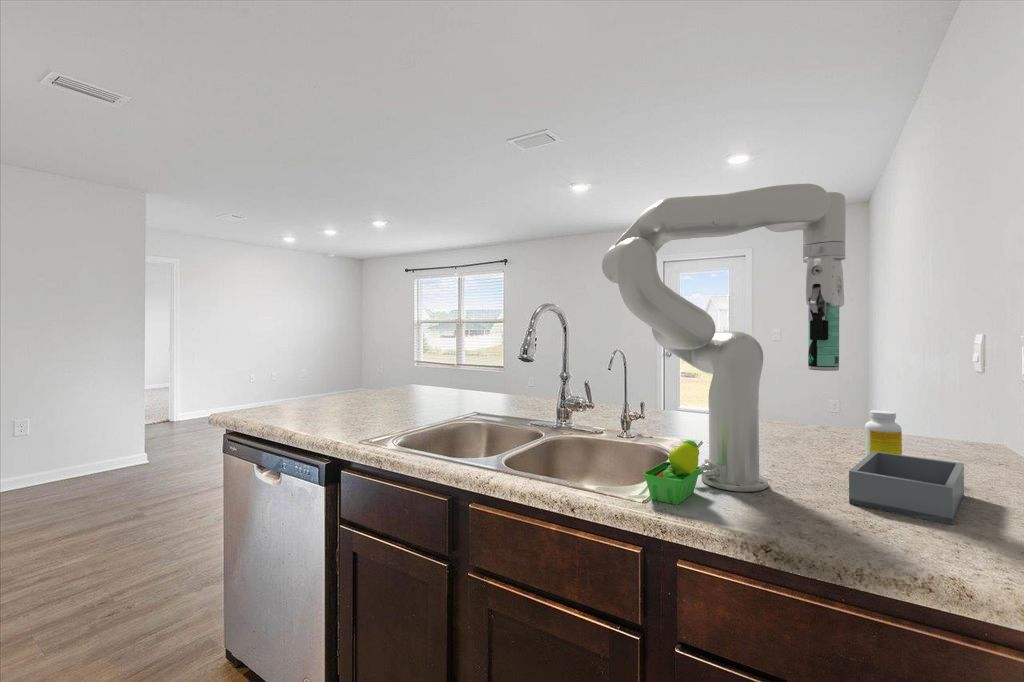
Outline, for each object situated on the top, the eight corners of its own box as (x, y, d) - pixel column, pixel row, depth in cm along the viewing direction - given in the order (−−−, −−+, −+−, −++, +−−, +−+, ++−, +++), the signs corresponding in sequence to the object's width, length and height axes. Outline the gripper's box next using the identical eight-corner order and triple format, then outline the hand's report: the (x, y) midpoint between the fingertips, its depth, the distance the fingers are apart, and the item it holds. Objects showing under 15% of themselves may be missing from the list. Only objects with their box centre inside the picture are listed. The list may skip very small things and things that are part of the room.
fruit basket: (665, 484, 101) (664, 431, 100) (708, 493, 95) (708, 436, 95) (641, 500, 92) (641, 441, 92) (688, 510, 86) (688, 447, 86)
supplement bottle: (908, 472, 106) (908, 414, 106) (874, 471, 107) (874, 413, 107) (891, 464, 112) (891, 409, 112) (859, 463, 114) (859, 409, 113)
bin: (952, 525, 78) (952, 488, 78) (849, 503, 88) (848, 470, 88) (963, 494, 92) (963, 463, 91) (873, 479, 102) (873, 450, 102)
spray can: (836, 369, 103) (836, 275, 103) (841, 371, 98) (841, 272, 98) (806, 368, 106) (806, 277, 105) (810, 370, 101) (810, 274, 100)
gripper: (833, 246, 93) (832, 340, 93) (855, 255, 105) (854, 339, 105) (790, 251, 98) (790, 340, 99) (815, 259, 110) (815, 339, 111)
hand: (823, 338), depth 102 cm, fingers closed on spray can, 5 cm apart
